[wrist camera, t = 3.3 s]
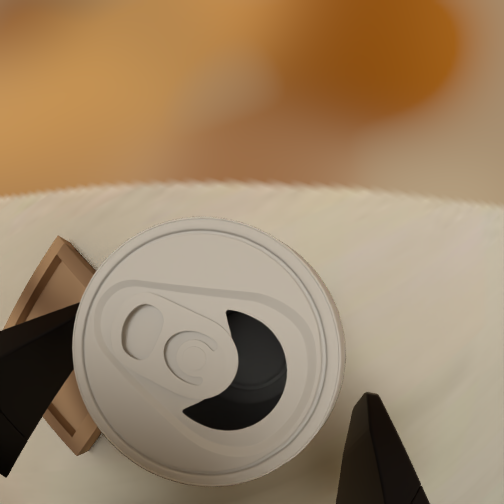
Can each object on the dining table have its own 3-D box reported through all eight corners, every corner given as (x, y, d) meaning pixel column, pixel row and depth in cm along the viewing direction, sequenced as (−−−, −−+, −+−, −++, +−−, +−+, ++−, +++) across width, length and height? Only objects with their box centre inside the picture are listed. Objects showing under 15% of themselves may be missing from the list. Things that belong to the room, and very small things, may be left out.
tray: (88, 450, 15) (77, 456, 13) (8, 346, 17) (-5, 345, 16) (169, 339, 17) (160, 339, 16) (69, 242, 20) (58, 235, 18)
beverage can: (277, 417, 15) (278, 540, 4) (177, 373, 16) (31, 401, 5) (320, 317, 17) (405, 263, 5) (219, 277, 18) (131, 166, 7)
